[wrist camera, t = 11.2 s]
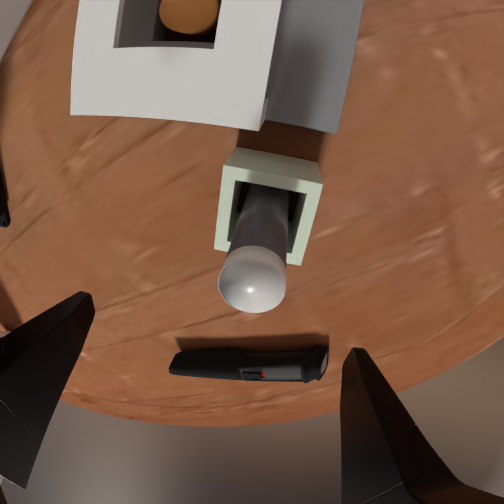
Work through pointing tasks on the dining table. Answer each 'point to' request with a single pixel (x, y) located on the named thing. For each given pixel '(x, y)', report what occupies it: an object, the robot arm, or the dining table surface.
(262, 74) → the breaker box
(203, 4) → the button
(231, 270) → the flashlight
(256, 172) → the pen stand
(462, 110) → the dining table surface
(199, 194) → the dining table surface
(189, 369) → the electric trimmer
